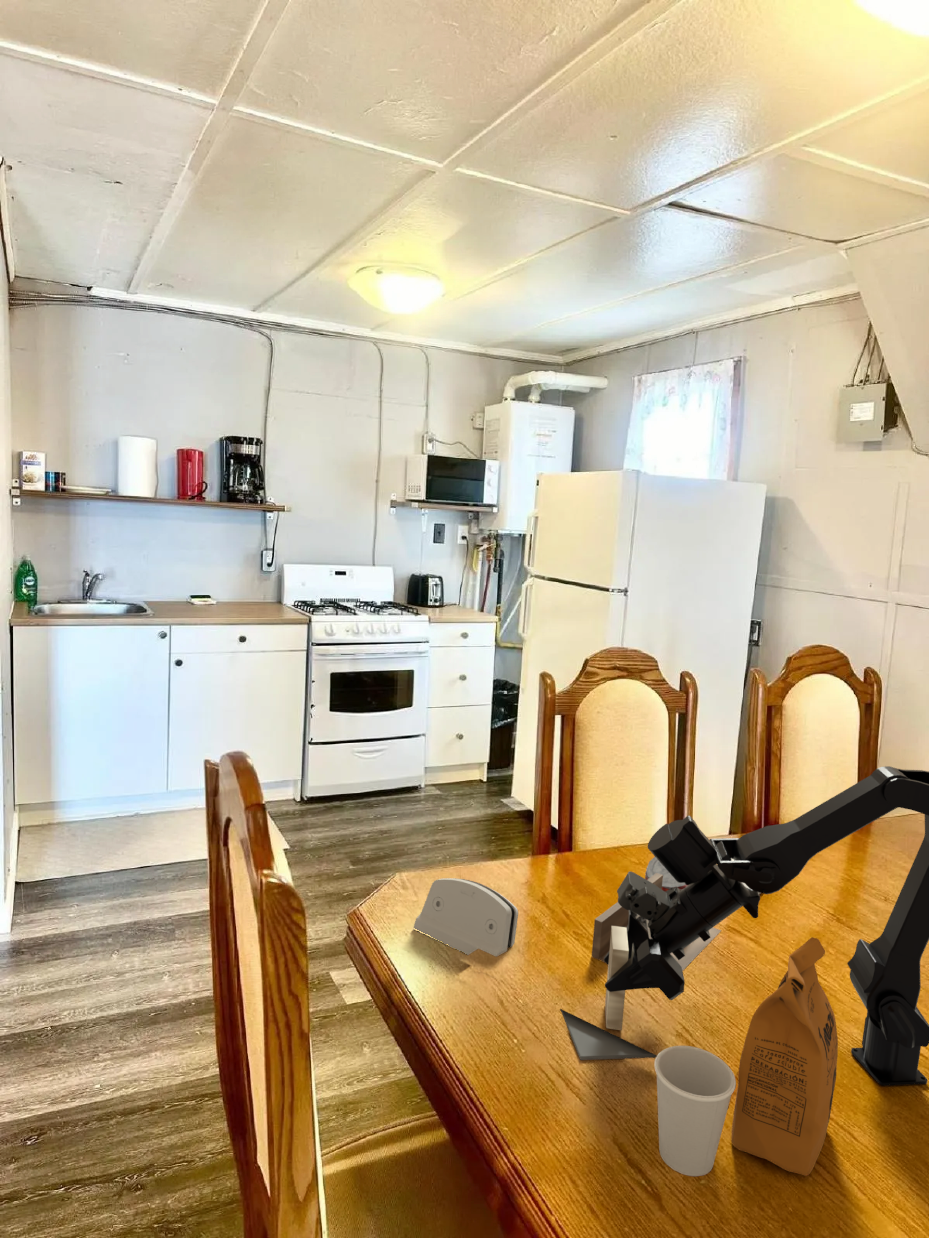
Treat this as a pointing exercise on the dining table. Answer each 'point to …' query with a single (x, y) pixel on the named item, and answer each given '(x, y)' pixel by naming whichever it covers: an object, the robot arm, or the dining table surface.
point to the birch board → (616, 961)
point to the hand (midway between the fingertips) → (606, 974)
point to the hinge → (468, 916)
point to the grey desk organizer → (620, 919)
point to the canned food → (668, 879)
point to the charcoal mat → (600, 1041)
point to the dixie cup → (691, 1107)
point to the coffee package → (788, 1069)
